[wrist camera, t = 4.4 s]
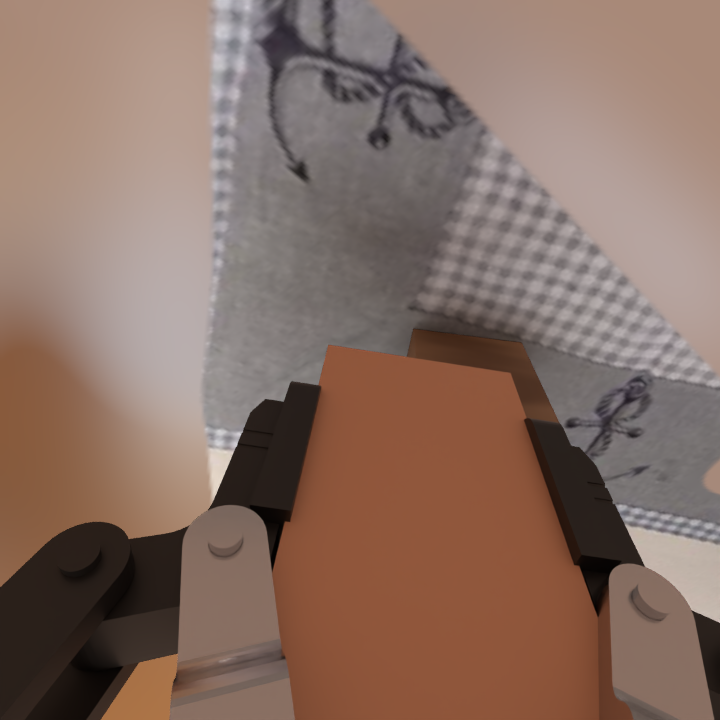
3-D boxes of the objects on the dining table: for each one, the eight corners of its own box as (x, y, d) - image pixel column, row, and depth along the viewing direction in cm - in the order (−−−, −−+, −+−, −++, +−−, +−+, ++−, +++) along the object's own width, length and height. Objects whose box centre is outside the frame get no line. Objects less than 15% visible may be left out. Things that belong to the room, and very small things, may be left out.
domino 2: (510, 372, 12) (687, 869, 5) (492, 416, 13) (617, 891, 6) (328, 344, 12) (215, 805, 5) (323, 391, 13) (221, 837, 6)
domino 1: (521, 342, 20) (599, 508, 13) (510, 370, 21) (577, 540, 14) (413, 328, 20) (429, 488, 13) (406, 357, 21) (418, 522, 14)
